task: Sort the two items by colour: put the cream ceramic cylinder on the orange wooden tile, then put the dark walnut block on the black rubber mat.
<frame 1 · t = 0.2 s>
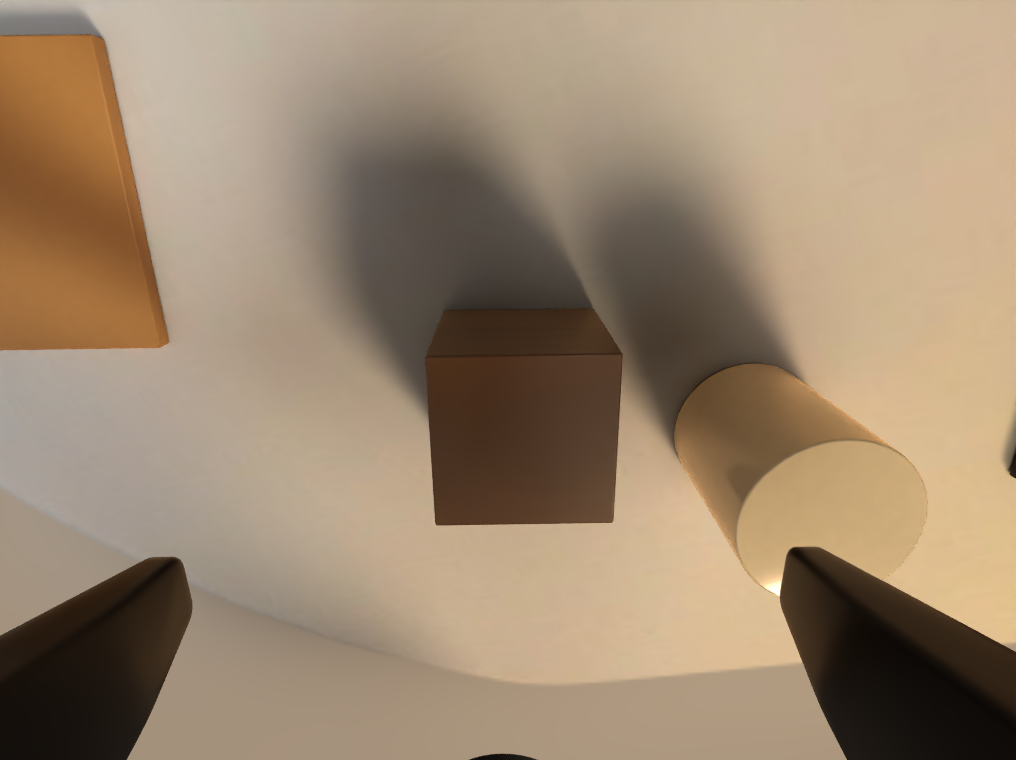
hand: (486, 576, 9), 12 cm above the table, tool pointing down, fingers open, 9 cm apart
cream cylinder: (744, 429, 21), on the table
walnut block: (519, 380, 21), on the table
orange wooden tile: (32, 204, 18), on the table
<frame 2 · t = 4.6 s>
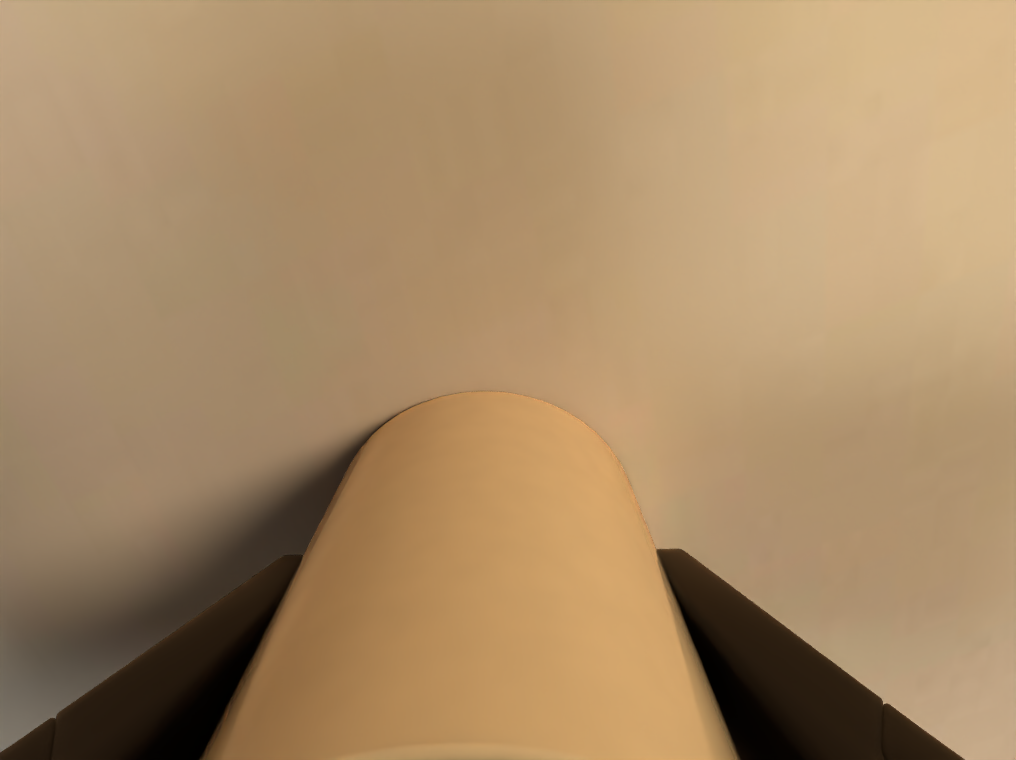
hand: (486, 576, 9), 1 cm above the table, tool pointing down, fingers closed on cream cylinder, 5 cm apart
cream cylinder: (486, 528, 10), on the table, touching gripper
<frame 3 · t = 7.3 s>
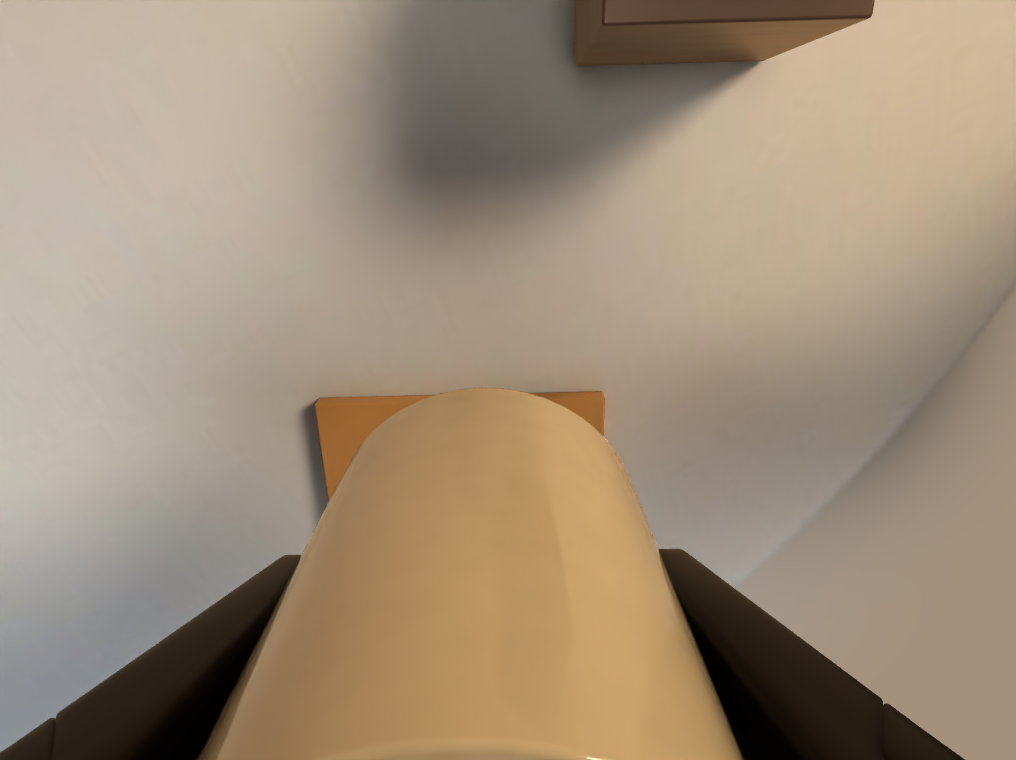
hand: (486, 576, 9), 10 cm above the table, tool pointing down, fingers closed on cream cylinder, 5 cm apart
cream cylinder: (486, 525, 10), point 9 cm above the table, touching gripper
orange wooden tile: (465, 485, 20), on the table
when the fingers open (2 cm above the table, at t = 10.0 s): cream cylinder stays where it is, resting on orange wooden tile.
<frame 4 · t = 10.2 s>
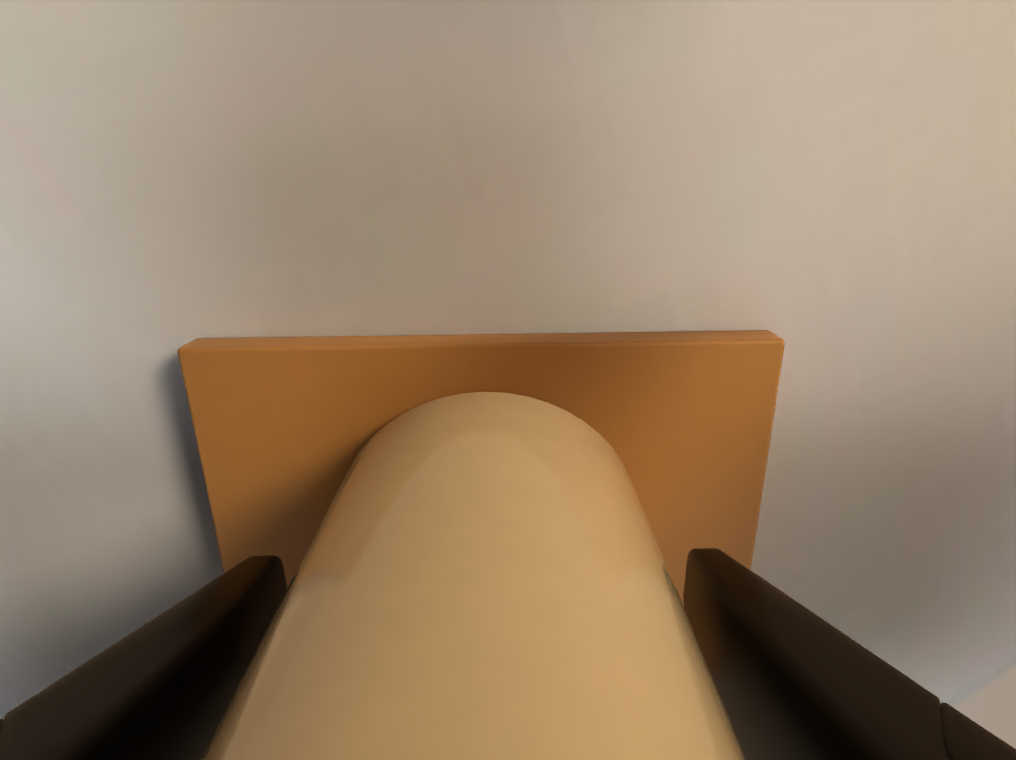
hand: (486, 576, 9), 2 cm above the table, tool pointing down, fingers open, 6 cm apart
cream cylinder: (488, 531, 10), point 1 cm above the table, touching orange wooden tile
orange wooden tile: (487, 515, 10), on the table
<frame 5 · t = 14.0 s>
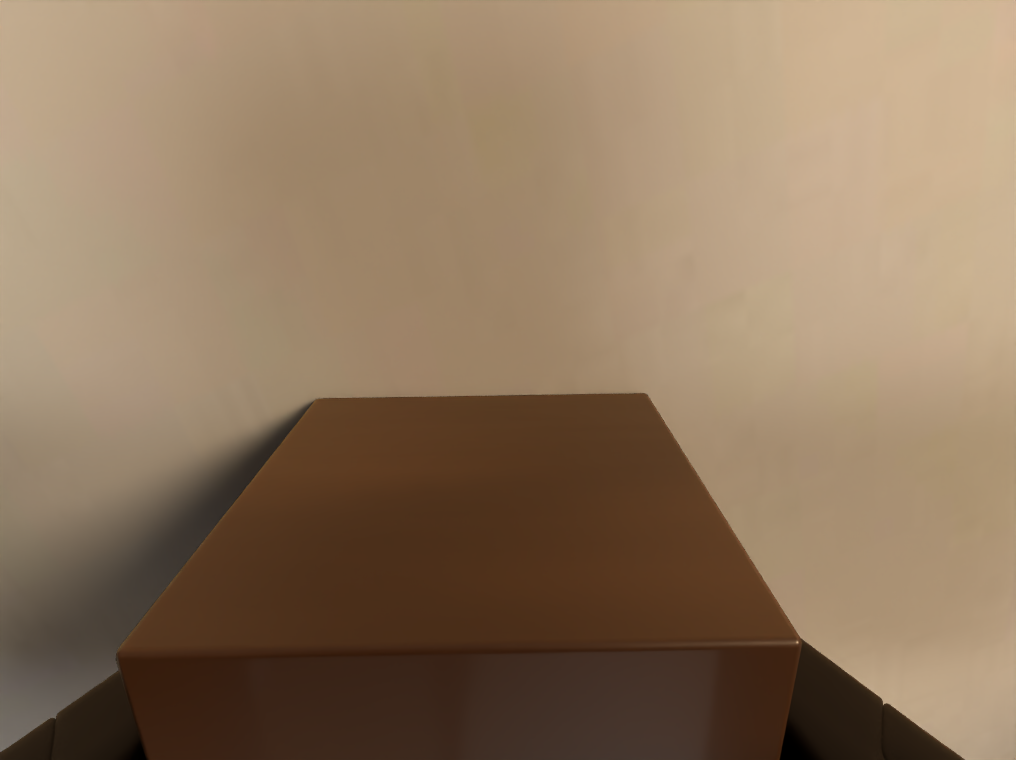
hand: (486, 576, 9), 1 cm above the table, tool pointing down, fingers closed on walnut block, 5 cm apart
walnut block: (485, 535, 10), on the table, touching gripper
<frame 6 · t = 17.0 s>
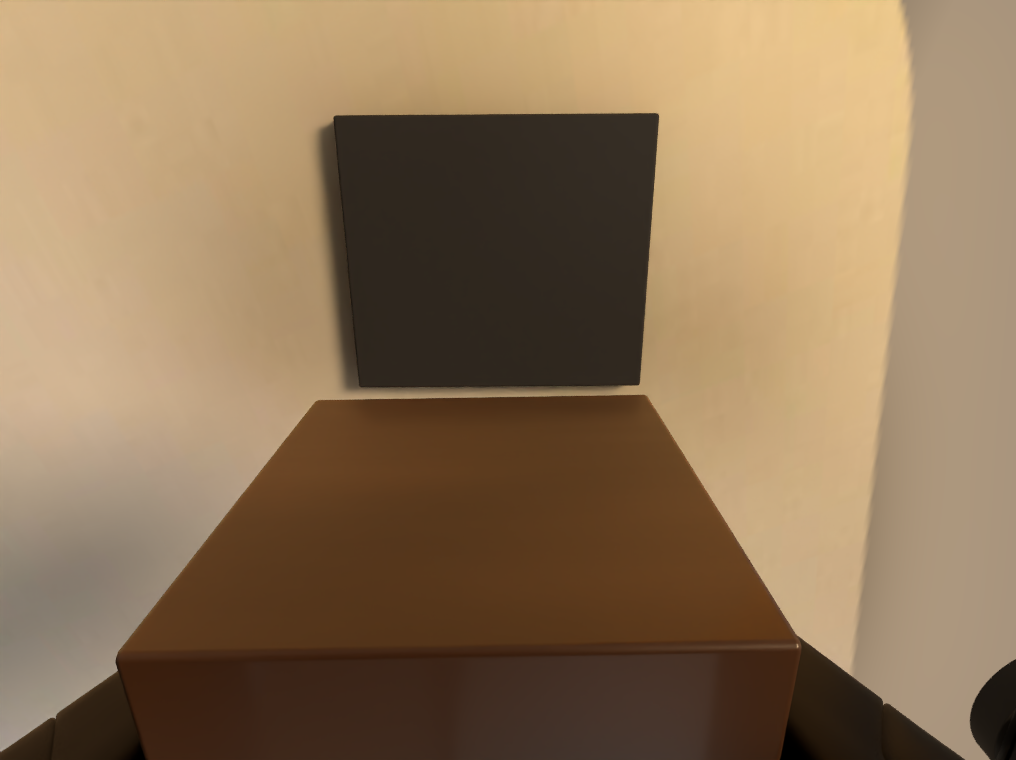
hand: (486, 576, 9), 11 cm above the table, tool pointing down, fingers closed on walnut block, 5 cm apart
dark mat: (498, 258, 18), on the table
walnut block: (485, 537, 10), point 10 cm above the table, touching gripper
when the fingers open (2 cm above the table, at t = 19.9 s): walnut block stays where it is, resting on dark mat.
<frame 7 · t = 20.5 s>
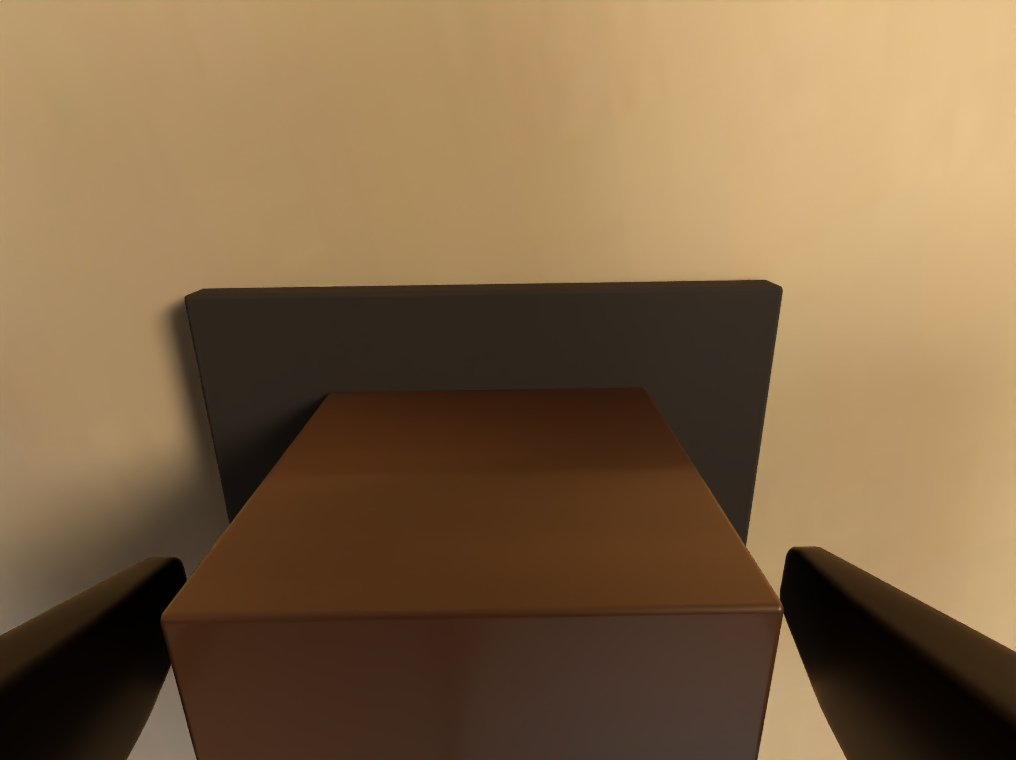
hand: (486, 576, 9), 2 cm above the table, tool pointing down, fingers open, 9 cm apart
dark mat: (490, 503, 11), on the table
walnut block: (491, 524, 10), point 1 cm above the table, touching dark mat
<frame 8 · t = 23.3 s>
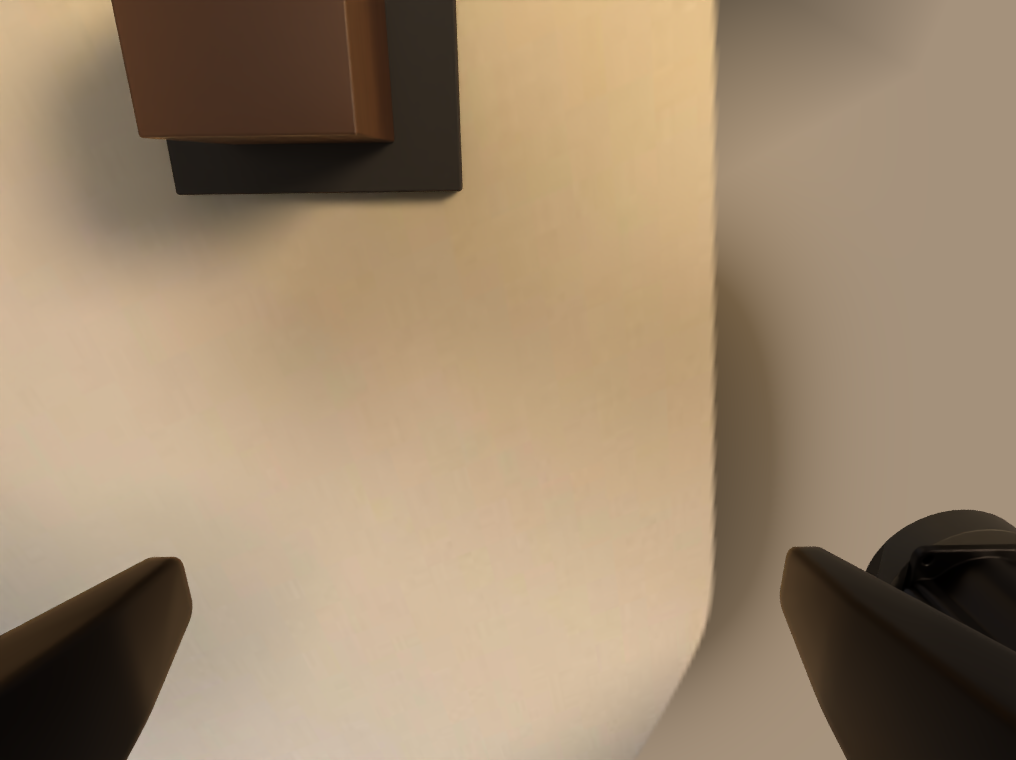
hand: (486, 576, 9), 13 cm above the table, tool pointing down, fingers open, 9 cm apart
dark mat: (308, 53, 18), on the table
walnut block: (303, 51, 17), point 1 cm above the table, touching dark mat
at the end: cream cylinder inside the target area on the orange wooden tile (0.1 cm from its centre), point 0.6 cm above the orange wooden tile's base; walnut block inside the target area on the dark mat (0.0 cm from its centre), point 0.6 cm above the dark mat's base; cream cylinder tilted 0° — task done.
